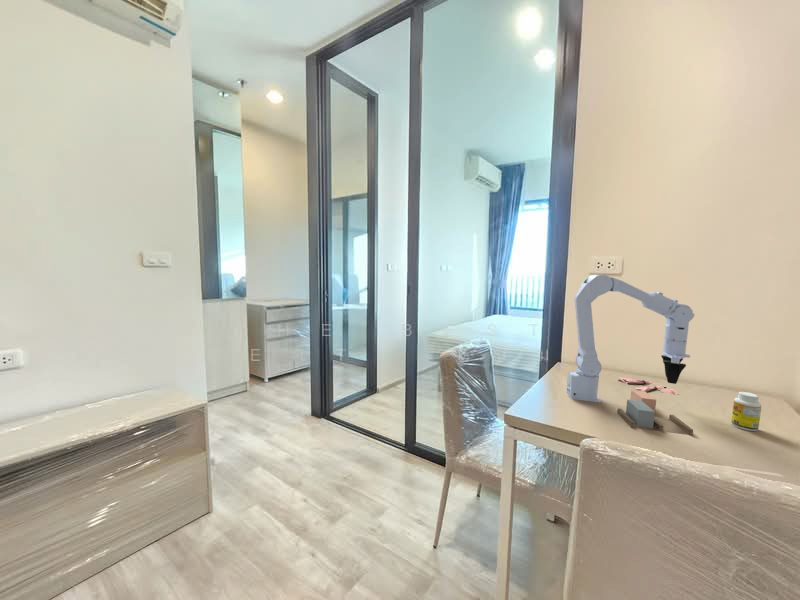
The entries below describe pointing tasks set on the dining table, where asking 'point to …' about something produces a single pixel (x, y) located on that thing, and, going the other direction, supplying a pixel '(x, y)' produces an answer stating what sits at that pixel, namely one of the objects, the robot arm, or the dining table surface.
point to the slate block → (640, 413)
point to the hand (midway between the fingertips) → (670, 380)
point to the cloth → (669, 391)
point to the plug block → (643, 398)
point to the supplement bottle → (746, 411)
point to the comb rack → (661, 424)
